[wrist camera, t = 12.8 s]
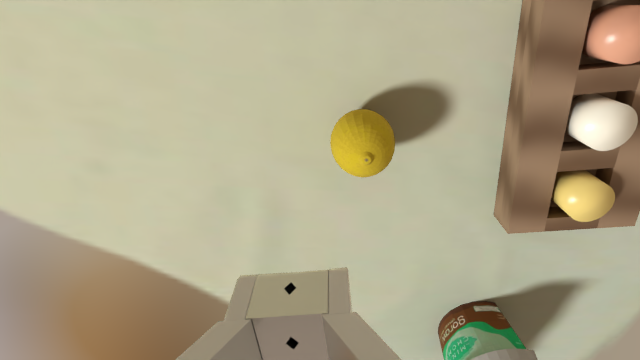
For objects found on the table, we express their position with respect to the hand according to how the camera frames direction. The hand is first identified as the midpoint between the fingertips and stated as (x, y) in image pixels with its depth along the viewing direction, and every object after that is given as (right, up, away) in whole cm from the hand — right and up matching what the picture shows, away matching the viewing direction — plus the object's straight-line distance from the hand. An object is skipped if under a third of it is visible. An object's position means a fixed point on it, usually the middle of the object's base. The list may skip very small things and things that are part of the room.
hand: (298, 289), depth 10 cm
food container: (+18, -15, +37) cm, 44 cm away
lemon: (+4, +8, +26) cm, 27 cm away
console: (+24, +9, +24) cm, 36 cm away
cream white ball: (+24, +9, +23) cm, 34 cm away
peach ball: (+24, +15, +20) cm, 34 cm away
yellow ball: (+25, +2, +26) cm, 36 cm away
